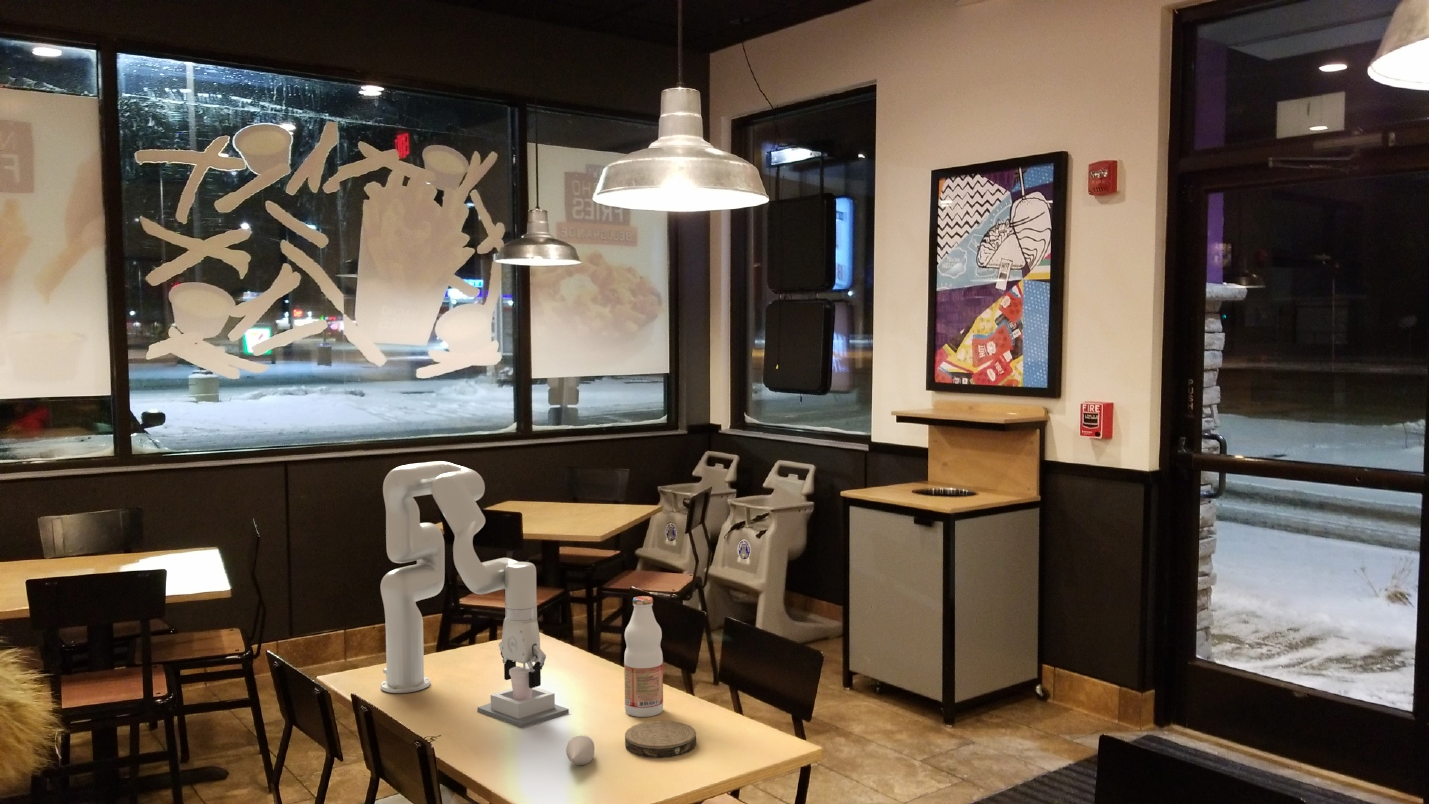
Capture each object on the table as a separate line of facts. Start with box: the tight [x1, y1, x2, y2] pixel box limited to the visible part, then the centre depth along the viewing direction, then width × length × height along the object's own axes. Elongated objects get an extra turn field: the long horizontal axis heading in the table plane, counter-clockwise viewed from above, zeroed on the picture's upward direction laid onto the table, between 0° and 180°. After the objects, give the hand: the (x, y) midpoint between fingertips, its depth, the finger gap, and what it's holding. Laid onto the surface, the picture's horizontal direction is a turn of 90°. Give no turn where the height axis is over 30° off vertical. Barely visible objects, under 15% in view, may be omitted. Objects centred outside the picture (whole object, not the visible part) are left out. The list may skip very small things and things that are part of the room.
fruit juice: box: [623, 595, 664, 718], centre depth 262 cm, size 9×9×28 cm
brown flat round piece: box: [624, 720, 697, 759], centre depth 240 cm, size 16×16×3 cm
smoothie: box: [509, 663, 533, 701], centre depth 262 cm, size 6×6×14 cm
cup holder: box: [476, 687, 570, 729], centre depth 262 cm, size 18×14×4 cm
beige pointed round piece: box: [565, 735, 596, 766], centre depth 228 cm, size 6×6×15 cm
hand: (522, 682), depth 262 cm, fingers open, 9 cm apart
